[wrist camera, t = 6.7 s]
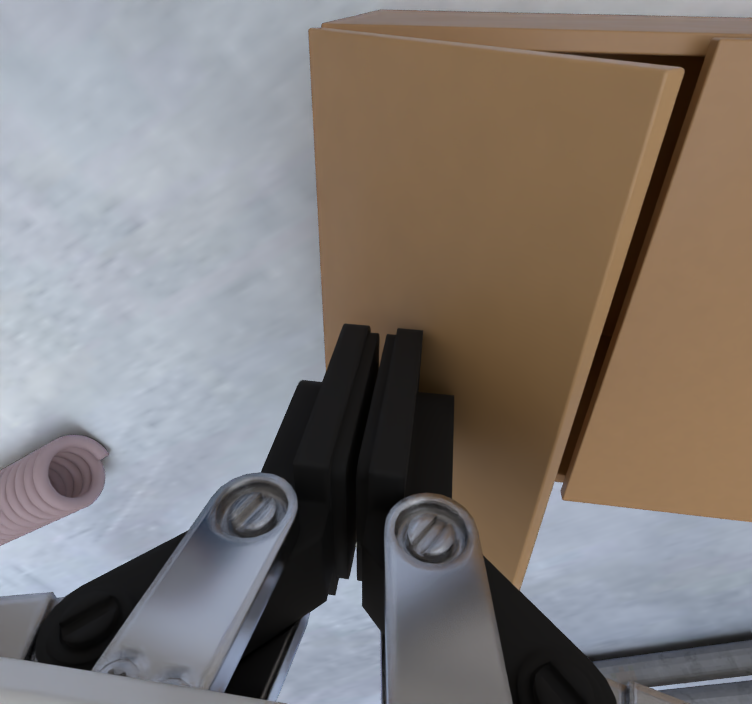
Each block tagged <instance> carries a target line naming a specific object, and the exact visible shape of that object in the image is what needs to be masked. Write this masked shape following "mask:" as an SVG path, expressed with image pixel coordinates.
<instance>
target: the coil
mask: <svg viewBox="0 0 752 704" xmlns="http://www.w3.org/2000/svg"><path fill="white" fill-rule="evenodd" d="M108 455H109V453H108V452H107V450H106V449H105V448H104V447H103V446H102V445H101V444H100V443H99V442H97V441H95V440H94V439H91V438H89V437H86V436H82V435H67V436H63V437H60V438H57V439H55V440H53V441H51V442H50V443H48V444H46V445H44V446H42V447H41V448H39V449H37V450H35V451H33V452H32V453H30V454H28V455H26V456H25V457H23V458H22V459H20V460H18V461H16V462H15V463H13V464H11V465H9V466H7V467H6V468H4V469H2V470H0V546H1V545H3V544H5V543H8V542H10V541H12V540H14V539H17V538H19V537H21V536H23V535H25V534H27V533H30V532H32V531H34V530H36V529H39V528H41V527H43V526H45V525H48V524H50V523H52V522H54V521H57V520H59V519H61V518H62V517H65V516H68V515H70V514H71V513H74V512H76V511H79V510H80V509H83V508H85V507H88V506H89V505H91V504H92V503H93V502H94V501H95V500H96V499H97V498H98V497H99V495H100V494H101V492H102V490H103V487H104V484H105V470H104V466H103V463H102V461H101V460H102V459H103V458H105V457H106V456H108Z"/></svg>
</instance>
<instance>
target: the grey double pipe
mask: <svg viewBox="0 0 752 704" xmlns="http://www.w3.org/2000/svg"><path fill="white" fill-rule="evenodd" d="M593 663H594V665H595V666H596V667H597V668H598V669H599V671H600V672H601V673H602V674H603V676H604V677H606V678H608V679H611V680H613V681H616V682H618V683H621V684H624V685H627V683H628V682H629V680H631V681H634V682H636V683H639V684H641V685H644V686H646V687H655V686H663V685H672V684H680V683H689V682H697V681H706V680H714V679H723V678H731V677H740V676H748V675H752V640H747V641H740V642H732V643H725V644H718V645H710V646H703V647H696V648H689V649H681V650H674V651H667V652H659V653H652V654H645V655H637V656H630V657H623V658H615V659H608V660H601V661H594V662H593ZM658 691H659V692H662V693H665V694H667V695H670V696H672V697H675V698H677V699H680V700H683V701H685V702H688V703H690V704H752V680H750V681H741V682H732V683H723V684H713V685H704V686H695V687H686V688H677V689H667V690H658Z"/></svg>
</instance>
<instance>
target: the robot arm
mask: <svg viewBox="0 0 752 704" xmlns="http://www.w3.org/2000/svg"><path fill="white" fill-rule="evenodd" d="M422 341H423V330H414V329H403V328H398V329H397V332H396V335H393V334H387V335H386V339H385V344H384V348H383V352H382V357H381V361H380V366H379V343H380V336H379V333H371V329H370V326H369V325H357V324H346V323H345V324H343V326H342V329H341V332H340V335H339V337H338V340H337V343H336V346H335V348H334V351H333V354H332V357H331V359H330V362H329V365H328V368H327V370H326V373H325V376H324V379H323V381H322V382H316V381H306V380H302V381H300V382H299V384H298V386H297V388H296V390H295V393H294V395H293V397H292V400H291V402H290V405H289V407H288V409H287V412H286V414H285V416H284V419H283V421H282V423H281V426H280V428H279V431H278V433H277V435H276V438H275V440H274V442H273V445H272V447H271V449H270V452H269V454H268V457H267V459H266V461H265V464H264V466H263V468H262V471H261V473H260V472H259V473H251V474H245V475H242V476H240V477H237V478H234V479H232V480H231V481H229V482H228V483H226V484H224V485H223V486H221V487H220V488H219V490H218V491H217V492H216V493H215V494H214V495H213V496H212V497H211V499H210V500H209V502H208V503H207V505H206V506H205V507H204V509H203V510H202V512H201V513H200V515H199V516H198V517H197V519H196V520H195V522H194V523H193V525H192V526H191V528H190V529H189V530H188V531H186V532H184V533H182V534H181V535H179V536H177V537H175V538H173V539H171V540H169V541H167V542H165V543H163V544H161V545H159V546H157V547H156V548H154V549H152V550H150V551H148V552H146V553H144V554H142V555H140V556H138V557H136V558H134V559H132V560H131V561H129V562H127V563H125V564H123V565H121V566H119V567H117V568H115V569H113V570H111V571H109V572H107V573H106V574H104V575H102V576H100V577H98V578H96V579H94V580H92V581H90V582H88V583H86V584H84V585H82V586H81V587H79V588H78V589H76V590H75V591H73V592H71V593H70V594H68V595H67V596H65V597H61V598H56V596H55V595H54V593H53V592H47V593H35V594H24V595H12V596H1V597H0V704H286V703H280V702H276V701H277V698H278V696H279V694H280V691H281V689H282V686H283V684H284V681H285V679H286V676H287V674H288V671H289V669H290V666H291V664H292V661H293V659H294V656H295V654H296V651H297V649H298V646H299V644H300V642H301V639H302V637H303V634H304V632H305V629H306V627H307V624H308V619H309V615H310V612H311V611H312V610H314V609H315V608H317V607H318V606H320V605H321V604H323V603H324V602H326V601H327V596H328V594H329V595H335V594H336V589H337V585H338V580H339V578H344V579H349V576H350V572H351V567H352V562H353V557H354V552H355V547H356V542H357V580H358V581H362V606H363V608H364V609H365V610H366V612H367V613H368V614H369V616H370V617H371V619H372V620H373V621H374V623H375V624H376V625H377V627H378V628H379V629H380V661H381V704H690V703H688V702H685V701H683V700H680V699H677V698H675V697H672V696H670V695H667V694H665V693H662V692H659V691H657V690H654V689H652V688H649V687H646V686H644V685H641V684H639V683H636V682H634V681H631V680H629V682H628V683H627V685H624V684H621V683H618V682H616V681H613V680H611V679H608V678H606V677H604V676H603V674H602V673H601V672H600V671H599V669H598V668H597V667H596V666H595V665H594V663H593V662H592V661H591V660H590V659H589V658H588V657H587V656H586V655H585V654H584V653H582V652H581V651H580V650H579V649H578V648H577V647H576V646H575V645H574V644H573V643H572V642H571V641H570V640H569V639H568V638H567V637H566V636H565V635H564V634H563V633H562V632H561V631H560V630H559V629H558V628H557V627H556V626H555V625H554V624H553V623H552V622H551V621H550V620H549V619H548V618H547V617H546V616H545V615H544V614H543V613H542V612H541V611H540V610H539V609H538V608H537V607H536V606H535V605H534V604H533V603H531V602H530V601H529V600H528V599H527V598H526V597H525V596H524V595H523V594H522V593H521V592H520V591H519V590H518V589H517V588H516V587H515V586H514V585H513V584H512V583H511V582H510V581H509V580H508V579H507V578H506V577H505V576H504V575H503V574H502V573H501V572H500V571H499V570H498V569H497V568H496V567H495V566H494V565H493V564H492V563H491V562H490V561H489V560H488V559H487V558H486V557H485V556H484V555H483V552H482V547H481V542H480V537H479V532H478V529H477V526H476V523H475V521H474V518H473V517H472V516H471V514H470V513H469V512H468V511H467V509H466V508H465V507H464V506H462V505H461V504H459V503H458V502H457V501H455V500H454V499H452V479H453V438H454V395H446V394H436V393H426V392H418V391H419V379H420V366H421V354H422Z"/></svg>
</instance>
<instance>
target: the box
mask: <svg viewBox="0 0 752 704" xmlns="http://www.w3.org/2000/svg"><path fill="white" fill-rule="evenodd" d="M321 28H331V29H340V30H349V31H358V32H367V33H376V34H385V35H394V36H403V37H413V38H422V39H431V40H440V41H449V42H458V43H467V44H476V45H485V46H494V47H503V48H512V49H521V50H530V51H540V52H549V53H558V54H567V55H576V56H585V57H594V58H603V59H612V60H621V61H630V62H639V63H648V64H657V65H666V66H676V67H682V68H683V69H684V75H683V78H682V82H681V85H680V88H679V91H678V94H677V97H676V100H675V104H674V107H673V110H672V113H671V116H670V119H669V122H668V126H667V129H666V132H665V135H664V138H663V141H662V144H661V148H660V151H659V154H658V157H657V160H656V163H655V166H654V170H653V173H652V176H651V179H650V182H649V185H648V189H647V192H646V195H645V198H644V201H643V204H642V207H641V211H640V214H639V217H638V220H637V223H636V226H635V229H634V233H633V236H632V239H631V242H630V245H629V248H628V251H627V255H626V258H625V261H624V264H623V267H622V270H621V274H620V277H619V280H618V283H617V286H616V289H615V292H614V296H613V299H612V302H611V305H610V308H609V311H608V314H607V318H606V321H605V324H604V327H603V330H602V333H601V336H600V340H599V343H598V346H597V349H596V352H595V355H594V359H593V362H592V365H591V368H590V371H589V374H588V377H587V381H586V384H585V387H584V390H583V393H582V396H581V399H580V403H579V406H578V409H577V412H576V415H575V418H574V421H573V425H572V428H571V431H570V434H569V437H568V440H567V443H566V447H565V450H564V453H563V456H562V459H561V462H560V466H559V469H558V472H557V475H556V478H555V482H563V485H562V488H561V496H562V500H566V501H574V502H583V503H592V504H600V505H609V506H618V507H626V508H635V509H643V510H652V511H661V512H669V513H678V514H686V515H695V516H704V517H712V518H721V519H730V520H738V521H747V522H752V18H736V17H690V16H645V15H599V14H554V13H508V12H463V11H418V10H377V11H373V12H369V13H364V14H360V15H356V16H351V17H347V18H343V19H338V20H334V21H330V22H325V23H322V25H321Z"/></svg>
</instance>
